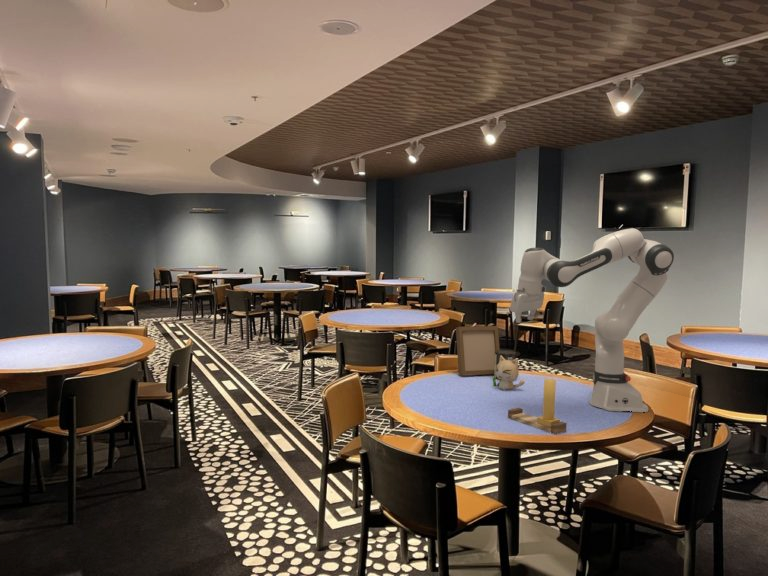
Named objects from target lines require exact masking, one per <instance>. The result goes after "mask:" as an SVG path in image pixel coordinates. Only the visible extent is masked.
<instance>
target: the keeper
mask: <svg viewBox="0 0 768 576" xmlns="http://www.w3.org/2000/svg"><path fill="white" fill-rule="evenodd" d="M556 383H557V380H555V379H552V378H545V379H543V398H542V399H543V400H542V401H543V402H542V403H543V404H542V405H543V406H542V415H541V416H537V423H539V424H542V425H545V426H548V427H551V424H554V423H558V422H561V421H560V418H556V417H555V409H556V406H555V405H556Z"/></svg>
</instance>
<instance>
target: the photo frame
mask: <svg viewBox="0 0 768 576" xmlns="http://www.w3.org/2000/svg"><path fill="white" fill-rule="evenodd" d="M455 336H456V350H457V365H458V367H457V369H458V376H459V375H460V376H475V375H476V376H479V375H494V369H495V351H497V350H501V349H500V340H499V339H500V338H499V336H500V335H499V326H498V325H484V326H483V325H481V326H480V325H478V326H476V325H475V326H457V327H455Z"/></svg>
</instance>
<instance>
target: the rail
mask: <svg viewBox="0 0 768 576" xmlns="http://www.w3.org/2000/svg"><path fill="white" fill-rule="evenodd" d="M537 417H538V416H537ZM537 417H536V416H534V415H530V414H528V413H526V412H525V413H524V412H523V408H520V407H516V408H515V407H514V408H512V409H507V419H511V420H514V421H517V422H519V423H521V424H525V425H528V426H530V427H533V428H536V429H540V430H542V431H545V432H548V433H550V432H551V433H550V434H553V433H554V435H558V434H562V433H564V432H565V431H566V432H567V422H564V421H560V422H558V423H554V424H551V427H548V426H545V425H542V424H539V423H537ZM561 432H562V433H561ZM566 432H565V433H566ZM557 433H558V434H557Z"/></svg>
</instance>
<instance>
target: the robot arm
mask: <svg viewBox="0 0 768 576" xmlns="http://www.w3.org/2000/svg"><path fill="white" fill-rule="evenodd" d="M591 249H592V251H591V252H590V253H588V254H586V255H583V256H581V257H579V258H576V259H574V260H562V259H560V258H558V257H556V256H554V255H552V254H550V253H549V252H548V251H546V250H545V249H544V248H543V247H531V248H527V249H526V250H525V251H524V252H523V254H522V259H521V263H520V276H519V278H518V284H517V289H516V290H515V292H514V293H513V295H512V297H511V301H510V306H509V311H510V312H512V313H514V314H515V322H516V323H517V324H520V323H522V320H523V319H522V318H521V317H522V313H525V312H529V314H527V320H529V321H532V320H534V317H535V314H536V312H537V310H538V309H541V308H542V307H543V304H544V299H545V293H546V292H547V287H546V286H544V285H543V284H542V281H543V280H546V281H548V282H550V283H551V284H552V285H553V286H555V287H557V288H566V287H568V286H570V285H571V284H572V283H574V282H575V281H576V280H578V278H580V277H581V276H584V275H585V274H588V273H590V272H592V271H594V270H597V269H599V268H602V267H603V266H605V265H609V264H611V263H614V262H617V261H620V260H622V259H625V258H628V259H629V260H630V261H631V262H632V263H634V264H637V265H638V266H639V271H638V272H637V274H636V275H635V276H634V277H633V278H632V279H631V281H630V282H629V283H628V284H627V285H626V286H625V288H624V289H623V290H622V291H621V292H620V293H619V295H618V296H617V297H616V300H615V301H614V304H613V305H612V306H611V308H610V309H609V310H608V311H603V312H601V313H599V314H598V315H597V316H596V318H595V320H594V343H595V361H594V362H595V363H594V364H595V365H594V370H593V374H592V375H593V377H592V382H593V383H592V384H593V389H592V391H591V392H592V393H591V396H590V399H589V401H588V402H589V404H590V405H591V406H593V407H596V408H601V409H603V410H605V411H609V412H622V411H630V412H629V413H643V412H645V413H648V411H649V406H648V405H647V404H646V403H644V400H643V397H642V394H641V392H640V391H639V390H638V389H637V388H635V387H634V386H633V385H632V384H631V383H630V382H631V376H629V375H628V374H626V373H625V372H624V369H625V367H624V366H625V351H624V342H623V341H624V340H625V339H626V338H627V336H628V335H629V334H630V331H631V330H632V328H633V327H634V325H635V324H636V323H637V321H638V319H639V318H640V316H641V315H642V313H643V312H644V311H645V310H646V308H647V307H648V306H649V305H650V303H652V301H653V300H654V299H655V298H656V297H657V295H659V293H660V291H661V290H662V289H663V287H664V286H665V284H666V282H667V280H668V274H667V272H668V271H669V270H670V268H671V267H672V264H673V262H674V258H675V254H674V252H673V250H672V249H671V248H670V247H669V246H668V245H666V244H662V242H661V243H660V242H658V241H656V240H651V239H647V238H645V237H644V236H643V234H642V232H641V231H640V230H639V229H637V228H633V227H630V228H625V229H621V230H617V231H614V232H611V233H609V234H606V235H603V236H602V237H599V238H598V239H596V240H595V241H594V243H593V245H592V248H591ZM631 411H632V412H631Z"/></svg>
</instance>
